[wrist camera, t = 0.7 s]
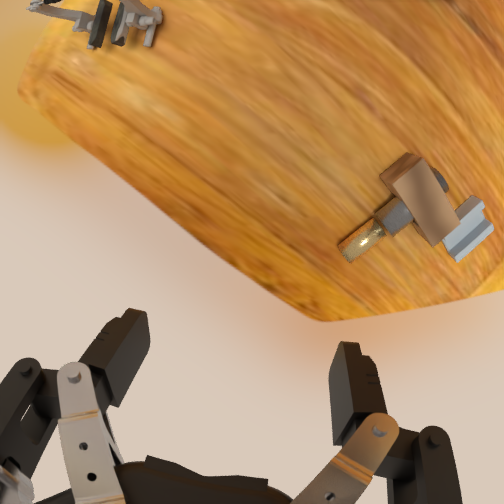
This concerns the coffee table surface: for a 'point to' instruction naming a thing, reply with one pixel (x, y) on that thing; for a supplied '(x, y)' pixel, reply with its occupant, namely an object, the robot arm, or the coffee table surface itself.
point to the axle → (402, 210)
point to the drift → (361, 240)
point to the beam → (421, 197)
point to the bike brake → (106, 20)
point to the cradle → (468, 229)
